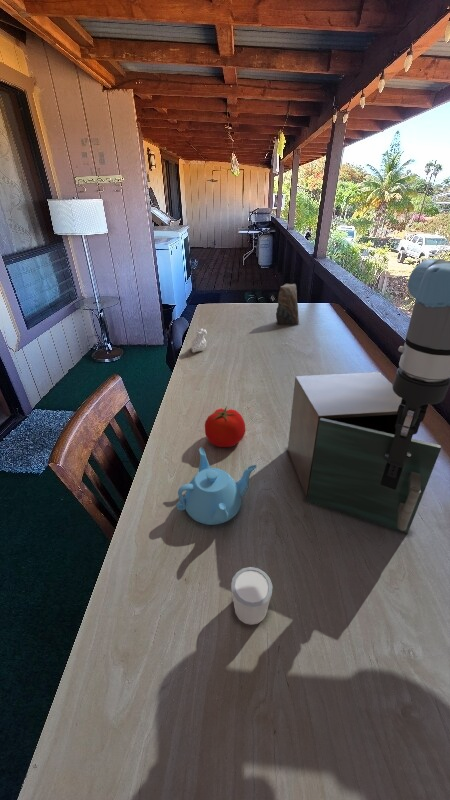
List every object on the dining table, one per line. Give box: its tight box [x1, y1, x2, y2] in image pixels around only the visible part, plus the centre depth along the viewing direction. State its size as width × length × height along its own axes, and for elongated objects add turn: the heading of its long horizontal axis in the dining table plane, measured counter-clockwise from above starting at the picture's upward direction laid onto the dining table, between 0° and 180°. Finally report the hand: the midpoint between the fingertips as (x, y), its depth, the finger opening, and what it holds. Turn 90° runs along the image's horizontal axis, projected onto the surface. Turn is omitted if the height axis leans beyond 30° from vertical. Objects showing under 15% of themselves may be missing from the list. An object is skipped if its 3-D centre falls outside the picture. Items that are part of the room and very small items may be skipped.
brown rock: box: [275, 283, 300, 326], centre depth 190 cm, size 13×13×20 cm
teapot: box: [175, 447, 257, 526], centre depth 79 cm, size 15×15×10 cm
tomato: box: [204, 405, 246, 448], centre depth 100 cm, size 12×12×10 cm
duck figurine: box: [191, 328, 208, 353], centre depth 159 cm, size 12×8×11 cm
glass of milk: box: [230, 566, 273, 626], centre depth 60 cm, size 7×7×7 cm
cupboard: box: [287, 371, 402, 498], centre depth 86 cm, size 18×22×24 cm
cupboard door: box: [306, 418, 442, 534], centre depth 70 cm, size 7×22×23 cm, turn 65°
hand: (388, 484), depth 66 cm, fingers closed
